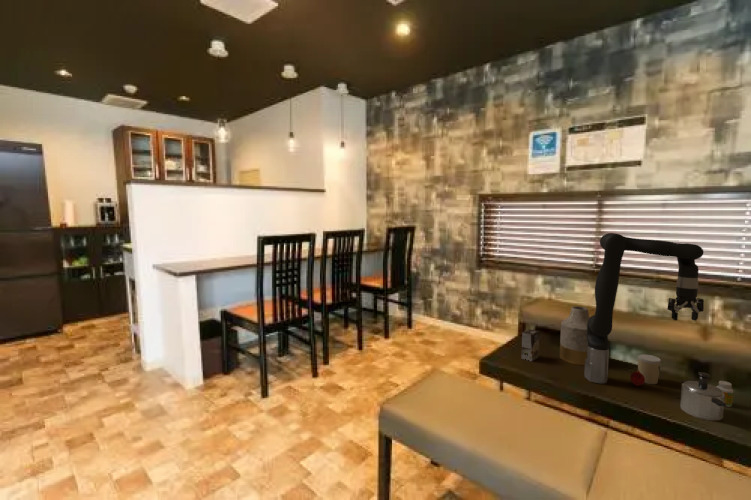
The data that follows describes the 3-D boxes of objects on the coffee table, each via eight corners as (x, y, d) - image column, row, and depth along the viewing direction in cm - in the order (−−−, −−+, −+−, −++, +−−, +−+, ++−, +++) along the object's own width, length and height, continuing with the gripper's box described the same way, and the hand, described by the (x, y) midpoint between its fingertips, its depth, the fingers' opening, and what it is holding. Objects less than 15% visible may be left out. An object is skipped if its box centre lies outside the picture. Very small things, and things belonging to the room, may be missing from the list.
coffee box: (531, 362, 202) (532, 335, 201) (521, 358, 207) (521, 332, 205) (538, 357, 209) (539, 331, 207) (528, 354, 213) (528, 328, 212)
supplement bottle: (728, 408, 153) (730, 386, 152) (712, 402, 158) (714, 381, 157) (734, 405, 155) (736, 384, 154) (718, 399, 160) (720, 379, 159)
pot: (738, 425, 140) (740, 401, 139) (703, 424, 141) (705, 400, 140) (698, 400, 159) (700, 379, 158) (667, 399, 160) (669, 378, 159)
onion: (645, 389, 169) (646, 374, 168) (630, 387, 172) (631, 371, 171) (643, 384, 174) (644, 369, 173) (629, 382, 177) (630, 366, 176)
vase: (557, 360, 204) (559, 309, 200) (561, 350, 219) (563, 302, 215) (594, 368, 193) (597, 314, 190) (596, 356, 208) (599, 306, 205)
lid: (699, 396, 144) (700, 380, 143) (676, 382, 156) (677, 367, 155) (730, 397, 143) (732, 381, 142) (705, 382, 155) (706, 368, 154)
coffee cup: (663, 385, 173) (665, 362, 172) (642, 384, 175) (643, 360, 174) (653, 377, 182) (654, 354, 181) (632, 375, 184) (634, 353, 183)
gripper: (677, 288, 161) (674, 322, 163) (710, 288, 160) (707, 322, 162) (665, 284, 169) (662, 317, 170) (696, 284, 168) (693, 317, 169)
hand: (684, 320), depth 166 cm, fingers open, 8 cm apart
